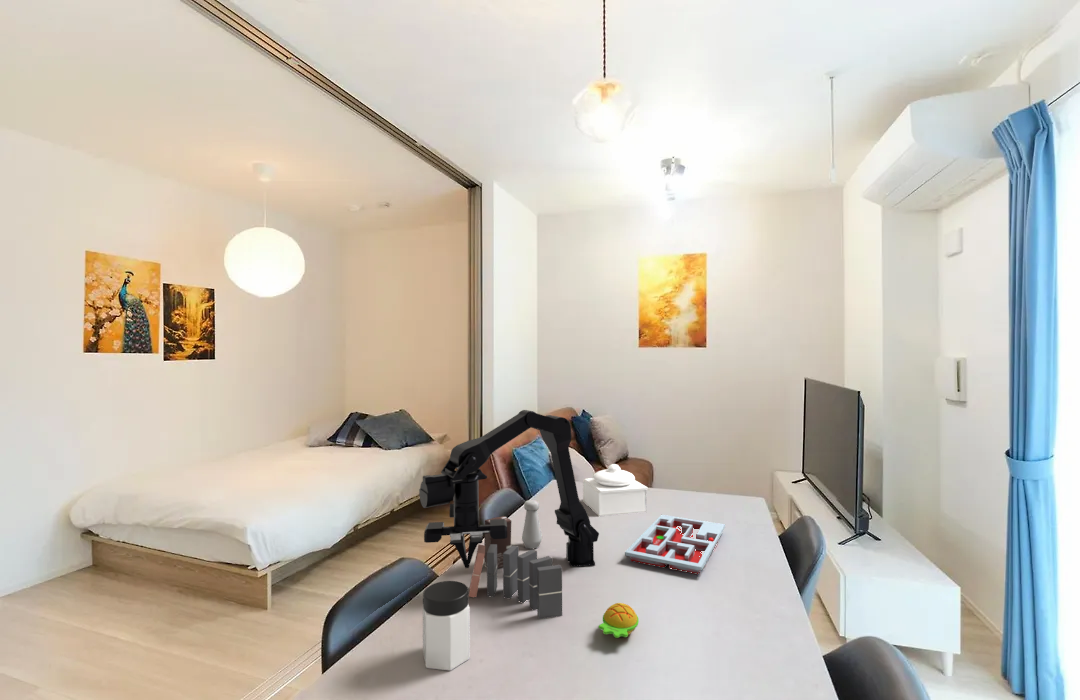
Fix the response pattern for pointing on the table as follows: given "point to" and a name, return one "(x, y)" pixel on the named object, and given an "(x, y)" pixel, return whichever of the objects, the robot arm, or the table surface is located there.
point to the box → (498, 542)
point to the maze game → (676, 543)
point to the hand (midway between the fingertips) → (467, 567)
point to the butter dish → (614, 492)
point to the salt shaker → (531, 525)
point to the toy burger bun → (619, 620)
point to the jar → (446, 625)
